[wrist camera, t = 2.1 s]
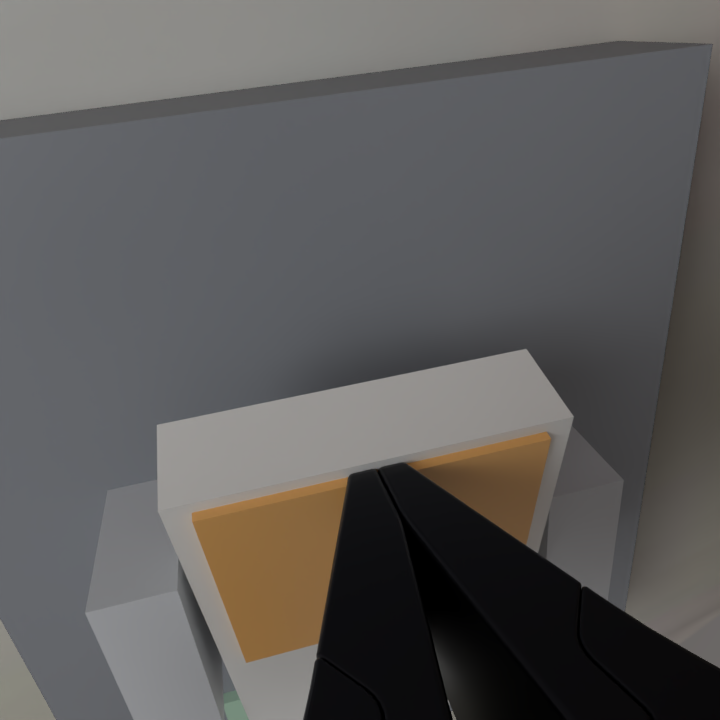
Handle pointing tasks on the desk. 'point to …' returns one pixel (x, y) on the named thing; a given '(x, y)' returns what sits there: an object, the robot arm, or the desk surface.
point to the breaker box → (317, 312)
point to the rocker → (340, 496)
